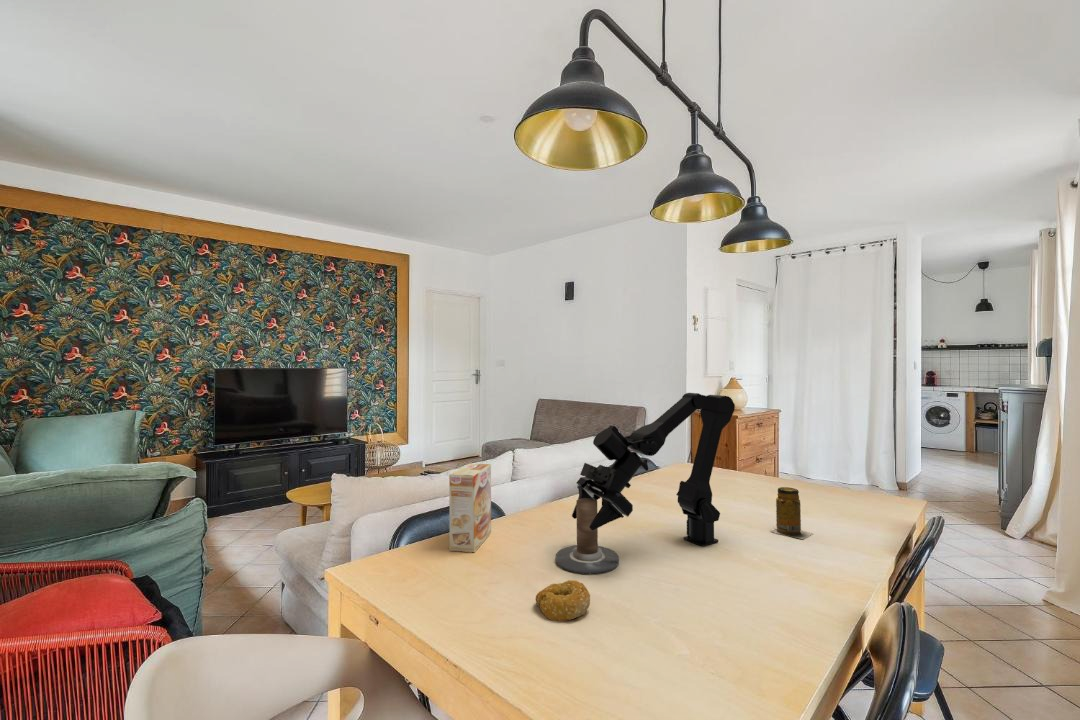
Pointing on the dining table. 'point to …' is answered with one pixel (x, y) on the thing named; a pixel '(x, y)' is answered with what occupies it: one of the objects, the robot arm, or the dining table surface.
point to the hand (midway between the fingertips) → (581, 523)
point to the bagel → (564, 600)
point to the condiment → (789, 513)
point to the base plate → (587, 562)
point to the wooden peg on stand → (586, 531)
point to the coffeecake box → (470, 507)
